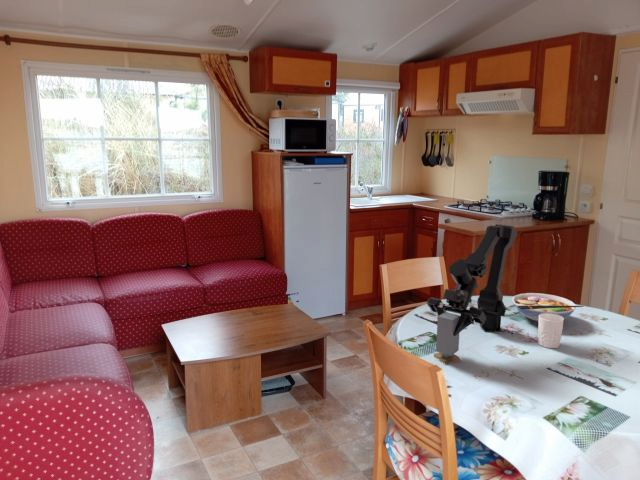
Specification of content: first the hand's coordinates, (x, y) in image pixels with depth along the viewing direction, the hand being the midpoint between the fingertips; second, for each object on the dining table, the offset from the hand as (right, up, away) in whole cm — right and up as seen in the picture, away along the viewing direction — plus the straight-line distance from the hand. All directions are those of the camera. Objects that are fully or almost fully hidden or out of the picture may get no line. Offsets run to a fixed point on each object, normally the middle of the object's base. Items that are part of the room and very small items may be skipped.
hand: (446, 333), depth 161 cm
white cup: (+39, -7, +13) cm, 42 cm away
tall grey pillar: (+1, -6, +2) cm, 7 cm away
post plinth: (+1, -9, +3) cm, 9 cm away
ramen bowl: (+46, -2, +36) cm, 59 cm away
